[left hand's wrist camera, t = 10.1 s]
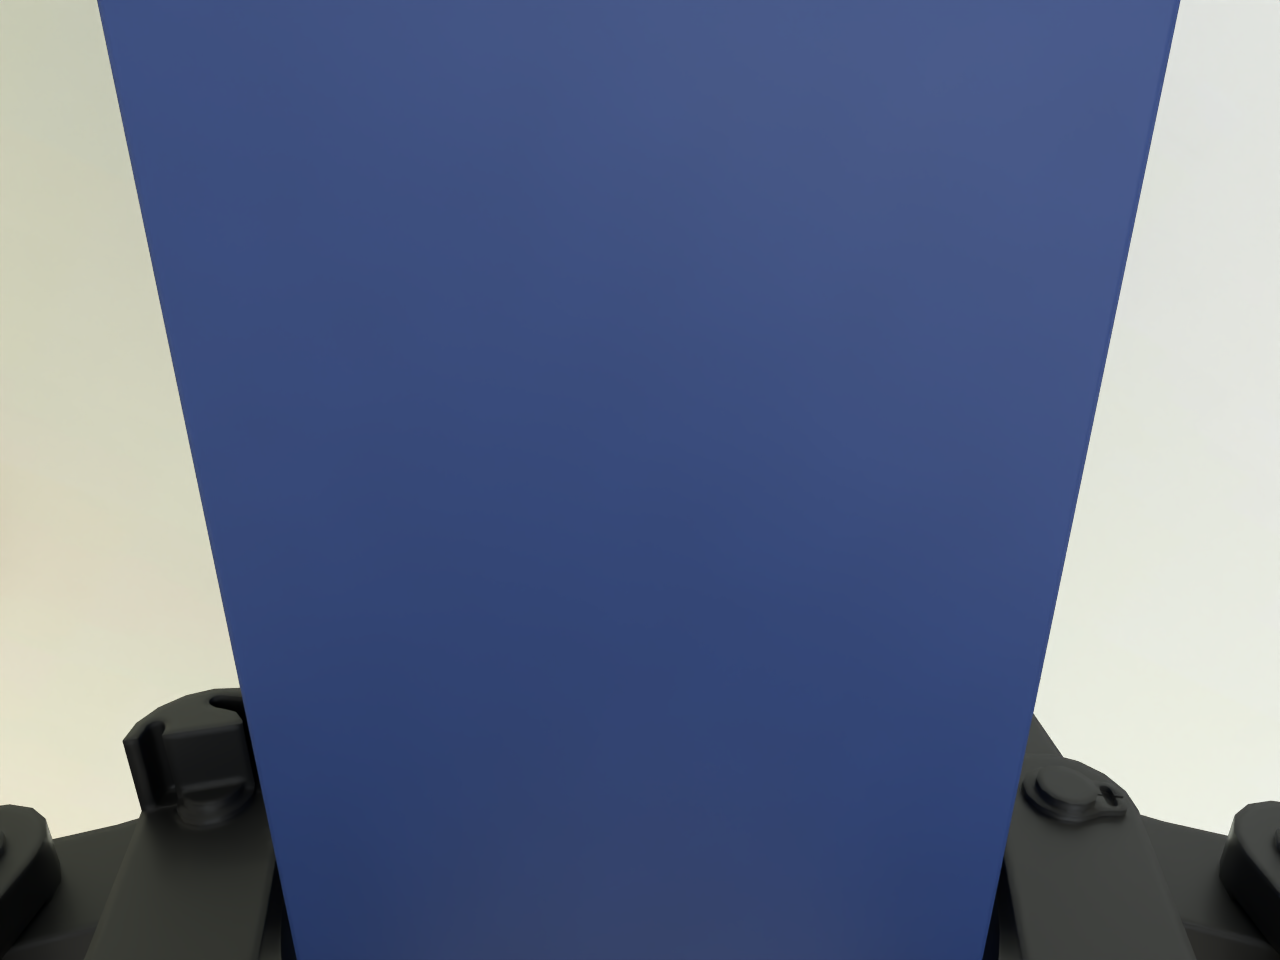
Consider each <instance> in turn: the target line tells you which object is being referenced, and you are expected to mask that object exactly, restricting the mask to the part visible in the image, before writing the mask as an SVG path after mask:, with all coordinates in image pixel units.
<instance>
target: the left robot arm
mask: <svg viewBox="0 0 1280 960" xmlns="http://www.w3.org/2000/svg"><path fill="white" fill-rule="evenodd" d="M123 744H124V748H125V752H126V755H127V759H128V762H129V766H130V770H131V773H132V777H133V781H134V784H135V788H136V792H137V795H138V799H139V803H140V806H141V810H142V812H141V815H140V817H139V818H138V819H135V820H132V821H128V822H125V823H121V824H118V825H114V826H110V827H105V828H101V829H96V830H92V831H87V832H83V833H79V834H74V835H70V836H65V837H61V838H56V839H52V837H51V834H50V831H49V828H48V825H47V822H46V819H45V818H44V817H43V816H42V815H40V814H39V813H38V812H37V811H36V810H34V809H33V808H29V807H23V806H16V805H10V804H9V805H2V806H0V960H297V958H296V953H295V948H294V944H293V939H292V934H291V929H290V924H289V920H288V915H287V910H286V905H285V900H284V896H283V891H282V886H281V881H280V876H279V871H278V867H277V862H276V857H275V852H274V847H273V843H272V838H271V833H270V828H269V823H268V819H267V814H266V809H265V804H264V799H263V795H262V790H261V785H260V780H259V775H258V771H257V766H256V761H255V756H254V751H253V747H252V742H251V737H250V732H249V727H248V723H247V718H246V713H245V708H244V703H243V699H242V694H241V689H240V688H225V689H212V690H207V691H203V692H199V693H194V694H190V695H186V696H184V697H181V698H179V699H177V700H174V701H172V702H170V703H168V704H165V705H163V706H161V707H158V708H157V709H156V710H154V711H153V712H151V713H150V714H149V715H147V716H146V717H144V718H143V719H141V720H140V721H139V722H137V723H136V724H135V725H134V727H133V728H132V729H131V731H130V732H129V733H128V734H127V736H126V737H125V738H124V740H123ZM982 960H1280V802H1276V801H1266V802H1260V803H1253V804H1248V805H1246V806H1245V807H1244V808H1243V809H1242V810H1240V811H1239V812H1238V813H1237V814H1236V815H1235V816H1234V819H1233V822H1232V826H1231V829H1230V832H1229V835H1228V836H1226V835H1222V834H1217V833H1213V832H1208V831H1204V830H1199V829H1195V828H1190V827H1186V826H1181V825H1177V824H1173V823H1168V822H1164V821H1160V820H1157V819H1153V818H1150V817H1147V816H1143V815H1140V813H1139V810H1138V809H1137V807H1136V806H1135V804H1134V803H1133V801H1132V800H1131V798H1130V797H1129V795H1128V794H1127V792H1126V791H1125V790H1124V789H1122V788H1121V787H1120V786H1119V785H1117V784H1116V783H1115V782H1114V781H1112V780H1111V779H1110V778H1109V777H1107V776H1106V775H1105V774H1103V773H1101V772H1099V771H1097V770H1095V769H1093V768H1091V767H1089V766H1087V765H1085V764H1083V763H1081V762H1079V761H1075V760H1072V759H1068V758H1064V757H1063V756H1062V755H1061V753H1060V752H1059V750H1058V749H1057V747H1056V746H1055V744H1054V743H1053V742H1052V740H1051V739H1050V737H1049V736H1048V734H1047V733H1046V731H1045V730H1044V728H1043V727H1042V725H1041V724H1040V723H1039V721H1038V720H1037V718H1036V717H1035V715H1034V714H1033V716H1032V721H1031V726H1030V731H1029V736H1028V740H1027V745H1026V750H1025V755H1024V760H1023V765H1022V770H1021V774H1020V779H1019V784H1018V789H1017V794H1016V799H1015V803H1014V808H1013V813H1012V818H1011V823H1010V828H1009V832H1008V837H1007V842H1006V847H1005V852H1004V857H1003V862H1002V866H1001V871H1000V876H999V881H998V886H997V891H996V895H995V900H994V905H993V910H992V915H991V920H990V924H989V929H988V934H987V939H986V944H985V949H984V954H983V958H982Z"/></svg>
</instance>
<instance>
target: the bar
mask: <svg viewBox="0 0 1280 960" xmlns="http://www.w3.org/2000/svg"><path fill="white" fill-rule="evenodd" d="M97 2H98V7H99V11H100V16H101V21H102V26H103V31H104V35H105V40H106V45H107V50H108V55H109V59H110V64H111V69H112V74H113V79H114V83H115V88H116V93H117V98H118V103H119V107H120V112H121V117H122V122H123V127H124V132H125V136H126V141H127V146H128V151H129V156H130V160H131V165H132V170H133V175H134V180H135V184H136V189H137V194H138V199H139V204H140V208H141V213H142V218H143V223H144V228H145V232H146V237H147V242H148V247H149V252H150V256H151V261H152V266H153V271H154V276H155V280H156V285H157V290H158V295H159V300H160V304H161V309H162V314H163V319H164V324H165V329H166V333H167V338H168V343H169V348H170V353H171V357H172V362H173V367H174V372H175V377H176V381H177V386H178V391H179V396H180V401H181V405H182V410H183V415H184V420H185V425H186V429H187V434H188V439H189V444H190V449H191V453H192V458H193V463H194V468H195V473H196V477H197V482H198V487H199V492H200V497H201V501H202V506H203V511H204V516H205V521H206V526H207V530H208V535H209V540H210V545H211V550H212V554H213V559H214V564H215V569H216V574H217V578H218V583H219V588H220V593H221V598H222V602H223V607H224V612H225V617H226V622H227V626H228V631H229V636H230V641H231V646H232V650H233V655H234V660H235V665H236V670H237V674H238V679H239V684H240V689H241V694H242V699H243V703H244V708H245V713H246V718H247V723H248V727H249V732H250V737H251V742H252V747H253V751H254V756H255V761H256V766H257V771H258V775H259V780H260V785H261V790H262V795H263V799H264V804H265V809H266V814H267V819H268V823H269V828H270V833H271V838H272V843H273V847H274V852H275V857H276V862H277V867H278V871H279V876H280V881H281V886H282V891H283V896H284V900H285V905H286V910H287V915H288V920H289V924H290V929H291V934H292V939H293V944H294V948H295V953H296V958H297V960H982V958H983V954H984V949H985V944H986V939H987V934H988V929H989V924H990V920H991V915H992V910H993V905H994V900H995V895H996V891H997V886H998V881H999V876H1000V871H1001V866H1002V862H1003V857H1004V852H1005V847H1006V842H1007V837H1008V832H1009V828H1010V823H1011V818H1012V813H1013V808H1014V803H1015V799H1016V794H1017V789H1018V784H1019V779H1020V774H1021V770H1022V765H1023V760H1024V755H1025V750H1026V745H1027V740H1028V736H1029V731H1030V726H1031V721H1032V716H1033V711H1034V707H1035V702H1036V697H1037V692H1038V687H1039V682H1040V677H1041V673H1042V668H1043V663H1044V658H1045V653H1046V648H1047V644H1048V639H1049V634H1050V629H1051V624H1052V619H1053V615H1054V610H1055V605H1056V600H1057V595H1058V590H1059V585H1060V581H1061V576H1062V571H1063V566H1064V561H1065V556H1066V552H1067V547H1068V542H1069V537H1070V532H1071V527H1072V523H1073V518H1074V513H1075V508H1076V503H1077V498H1078V493H1079V489H1080V484H1081V479H1082V474H1083V469H1084V464H1085V460H1086V455H1087V450H1088V445H1089V440H1090V435H1091V430H1092V426H1093V421H1094V416H1095V411H1096V406H1097V401H1098V397H1099V392H1100V387H1101V382H1102V377H1103V372H1104V368H1105V363H1106V358H1107V353H1108V348H1109V343H1110V338H1111V334H1112V329H1113V324H1114V319H1115V314H1116V309H1117V305H1118V300H1119V295H1120V290H1121V285H1122V280H1123V276H1124V271H1125V266H1126V261H1127V256H1128V251H1129V246H1130V242H1131V237H1132V232H1133V227H1134V222H1135V217H1136V213H1137V208H1138V203H1139V198H1140V193H1141V188H1142V184H1143V179H1144V174H1145V169H1146V164H1147V159H1148V154H1149V150H1150V145H1151V140H1152V135H1153V130H1154V125H1155V121H1156V116H1157V111H1158V106H1159V101H1160V96H1161V91H1162V87H1163V82H1164V77H1165V72H1166V67H1167V62H1168V58H1169V53H1170V48H1171V43H1172V38H1173V33H1174V29H1175V24H1176V19H1177V14H1178V9H1179V4H1180V0H97Z"/></svg>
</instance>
